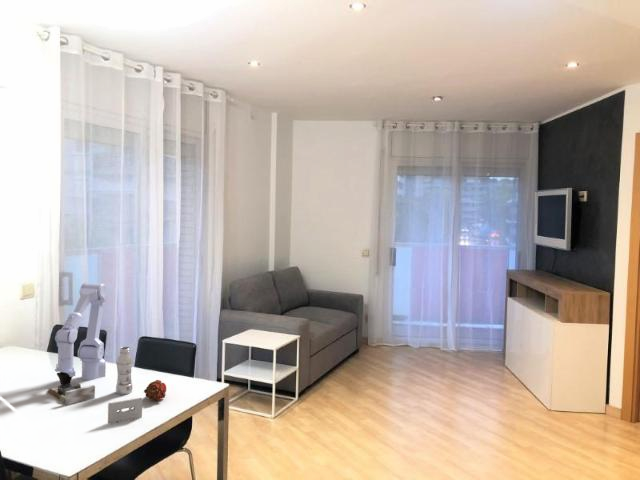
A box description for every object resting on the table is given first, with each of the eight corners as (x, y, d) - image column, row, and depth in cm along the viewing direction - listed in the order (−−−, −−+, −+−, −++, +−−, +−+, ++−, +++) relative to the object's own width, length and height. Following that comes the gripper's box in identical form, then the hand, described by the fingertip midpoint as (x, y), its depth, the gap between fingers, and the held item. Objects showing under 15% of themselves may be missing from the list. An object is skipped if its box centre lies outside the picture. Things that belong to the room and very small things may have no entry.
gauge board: (73, 387, 212) (73, 373, 212) (94, 400, 199) (94, 385, 199) (46, 393, 204) (46, 379, 204) (66, 407, 191) (66, 392, 191)
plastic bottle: (135, 393, 208) (136, 347, 207) (123, 398, 202) (124, 351, 201) (124, 390, 211) (125, 345, 210) (112, 395, 205) (112, 348, 204)
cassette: (141, 416, 186) (141, 396, 186) (142, 418, 185) (142, 398, 184) (107, 423, 179) (107, 402, 179) (108, 424, 178) (108, 404, 177)
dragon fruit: (155, 409, 197) (152, 402, 208) (173, 394, 200) (169, 388, 211) (142, 393, 196) (140, 387, 206) (160, 378, 199) (157, 373, 210)
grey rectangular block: (75, 389, 207) (75, 381, 206) (80, 393, 203) (80, 384, 203) (57, 394, 201) (57, 385, 201) (62, 397, 198) (62, 388, 198)
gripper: (48, 355, 206) (48, 386, 206) (62, 363, 196) (62, 396, 197) (66, 352, 211) (65, 382, 212) (80, 359, 202) (80, 392, 202)
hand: (65, 389), depth 205 cm, fingers closed
